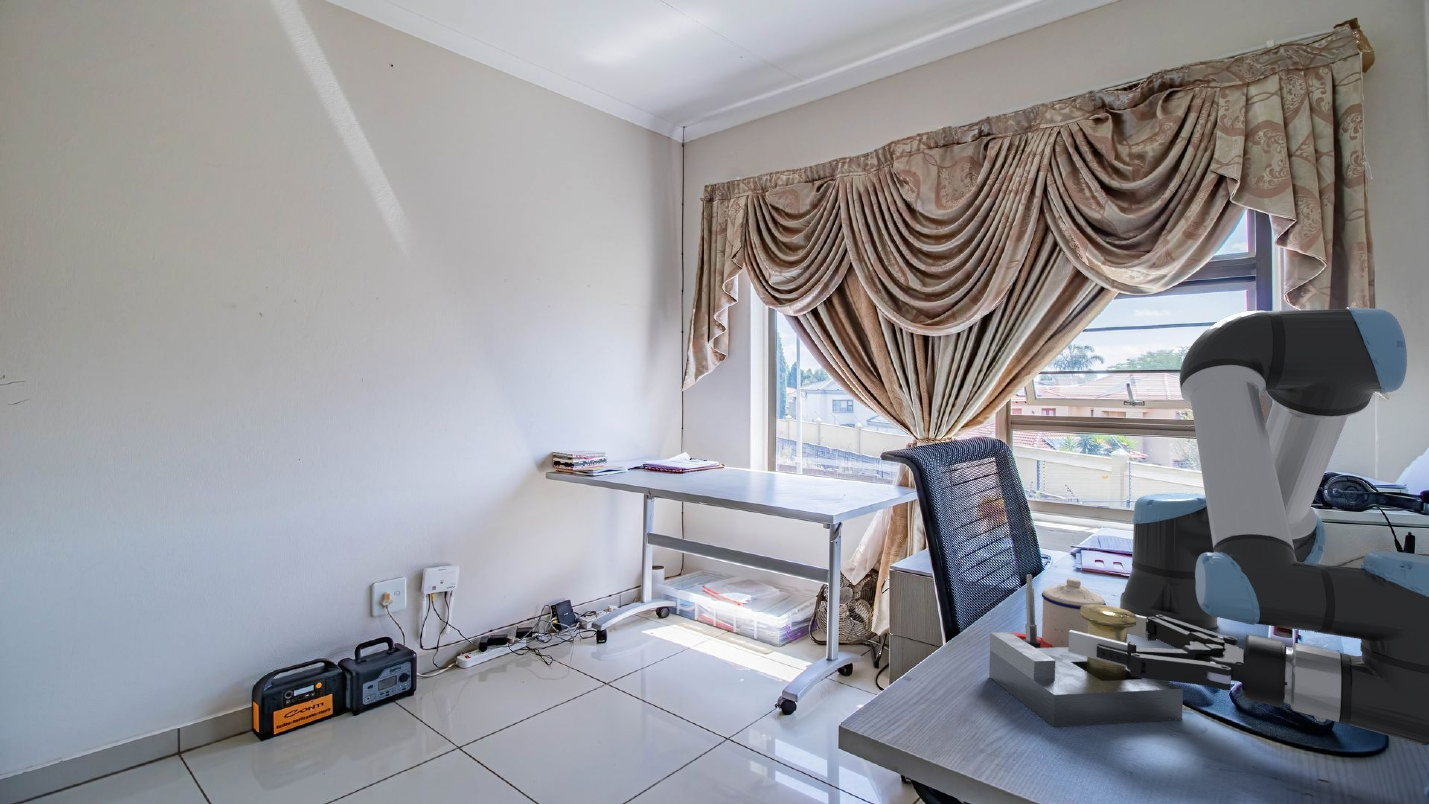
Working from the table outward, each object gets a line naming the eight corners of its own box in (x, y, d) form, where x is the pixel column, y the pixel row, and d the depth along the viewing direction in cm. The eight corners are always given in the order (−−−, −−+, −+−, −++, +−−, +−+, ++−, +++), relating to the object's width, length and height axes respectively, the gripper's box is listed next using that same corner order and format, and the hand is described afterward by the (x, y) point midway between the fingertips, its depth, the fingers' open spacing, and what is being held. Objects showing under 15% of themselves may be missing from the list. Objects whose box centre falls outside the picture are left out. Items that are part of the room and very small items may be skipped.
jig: (1100, 672, 95) (1102, 629, 95) (1182, 720, 82) (1183, 669, 81) (989, 677, 93) (990, 632, 93) (1053, 726, 79) (1055, 674, 79)
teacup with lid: (1101, 668, 97) (1103, 591, 97) (1035, 652, 102) (1037, 580, 102) (1108, 644, 107) (1110, 574, 107) (1047, 631, 112) (1049, 565, 112)
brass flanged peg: (1108, 688, 90) (1111, 603, 90) (1145, 710, 84) (1148, 619, 84) (1067, 689, 89) (1070, 604, 89) (1101, 712, 83) (1104, 620, 83)
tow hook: (989, 638, 109) (1005, 659, 99) (986, 562, 109) (1002, 575, 100) (1041, 640, 107) (1063, 661, 98) (1038, 563, 108) (1059, 576, 99)
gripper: (1285, 749, 65) (1056, 683, 79) (1286, 674, 84) (1100, 631, 98) (1288, 676, 65) (1058, 623, 79) (1288, 617, 84) (1102, 582, 98)
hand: (1081, 627), depth 89 cm, fingers open, 13 cm apart
